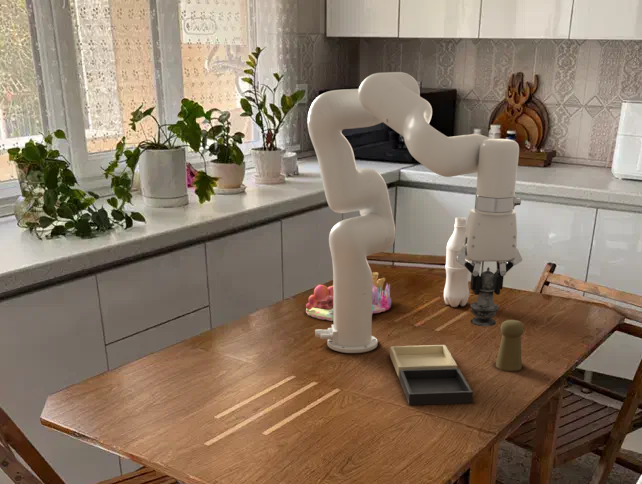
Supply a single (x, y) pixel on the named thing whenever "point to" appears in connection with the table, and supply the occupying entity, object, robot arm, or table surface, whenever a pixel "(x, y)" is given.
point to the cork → (510, 346)
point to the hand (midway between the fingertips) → (485, 292)
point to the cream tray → (421, 357)
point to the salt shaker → (485, 301)
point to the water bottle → (456, 268)
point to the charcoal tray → (435, 386)
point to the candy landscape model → (323, 299)
